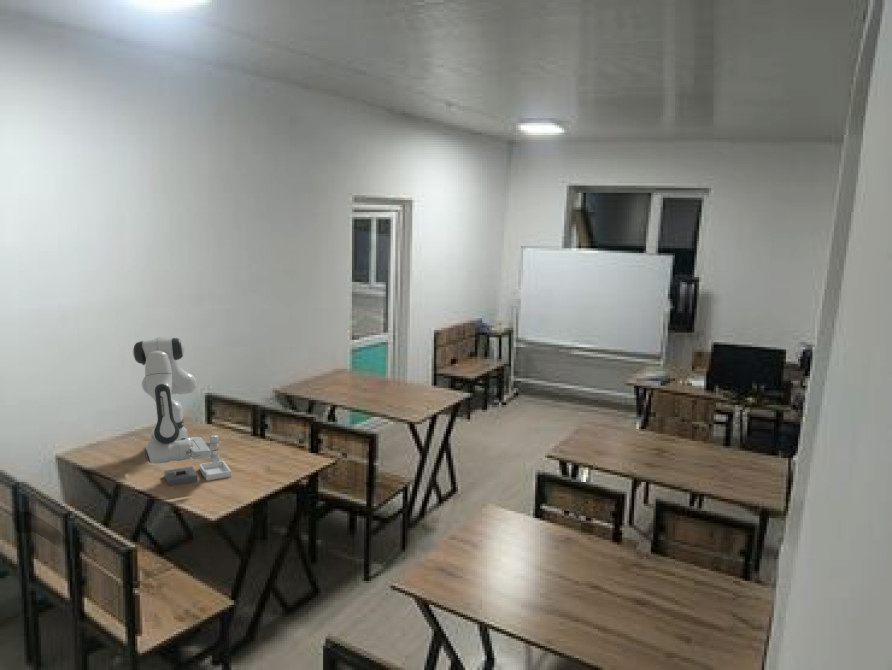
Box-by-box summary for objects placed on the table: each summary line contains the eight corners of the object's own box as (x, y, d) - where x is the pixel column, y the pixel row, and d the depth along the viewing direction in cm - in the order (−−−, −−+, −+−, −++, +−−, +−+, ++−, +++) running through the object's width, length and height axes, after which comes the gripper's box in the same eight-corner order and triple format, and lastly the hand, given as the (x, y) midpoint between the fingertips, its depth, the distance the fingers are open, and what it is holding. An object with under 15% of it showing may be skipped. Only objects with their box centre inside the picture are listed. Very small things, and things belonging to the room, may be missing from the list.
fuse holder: (164, 478, 297) (164, 468, 296) (192, 473, 304) (191, 463, 303) (169, 487, 287) (168, 477, 286) (197, 482, 294) (197, 473, 293)
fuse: (209, 460, 302) (209, 435, 300) (218, 459, 304) (217, 434, 302) (211, 463, 299) (210, 438, 297) (220, 461, 301) (219, 436, 299)
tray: (199, 471, 307) (199, 464, 306) (223, 467, 312) (223, 460, 312) (206, 482, 294) (206, 475, 294) (231, 478, 300) (231, 471, 299)
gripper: (189, 450, 285) (221, 445, 292) (180, 436, 302) (211, 432, 309) (189, 464, 286) (221, 459, 293) (180, 449, 303) (211, 445, 310)
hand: (216, 445), depth 301 cm, fingers closed on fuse, 3 cm apart
